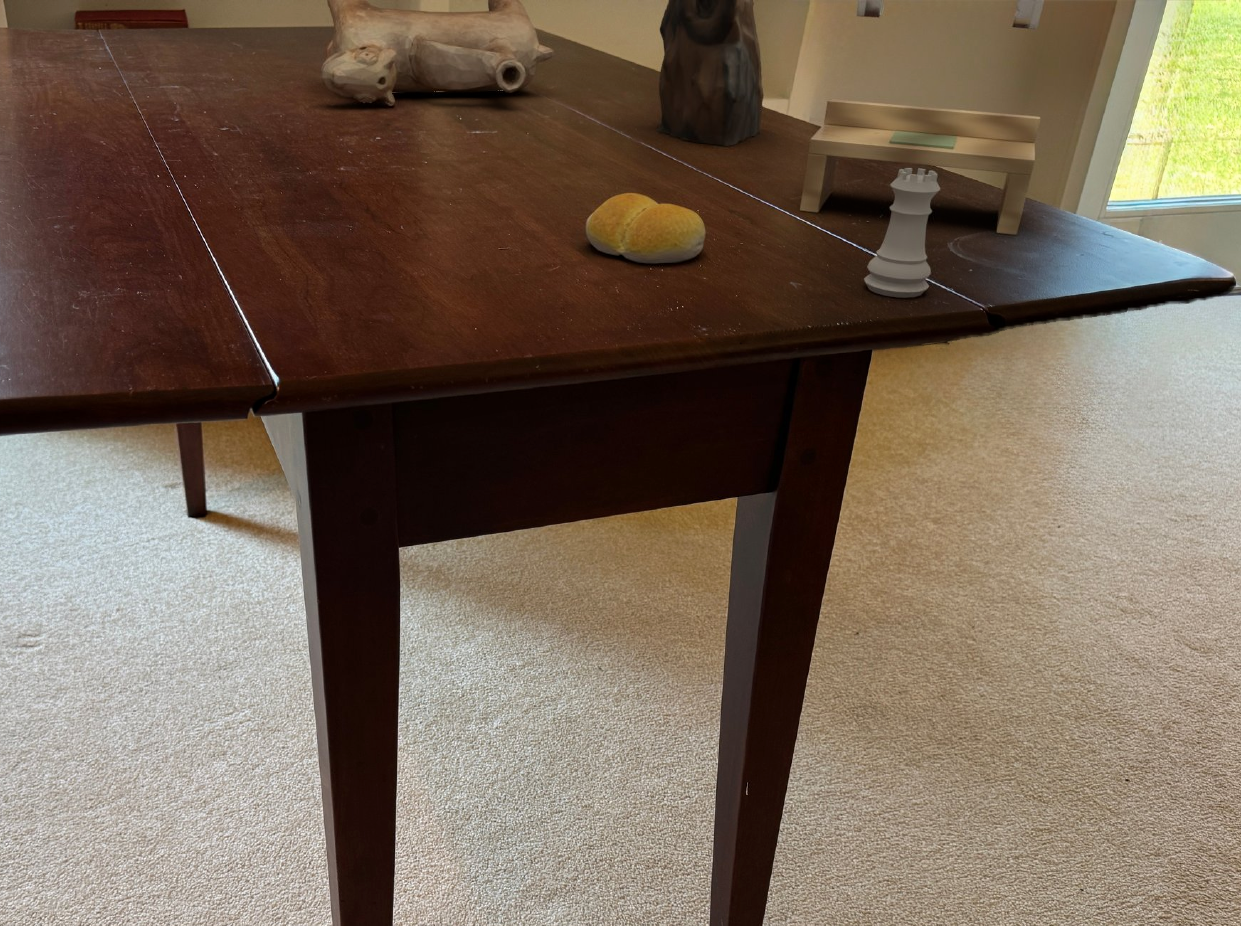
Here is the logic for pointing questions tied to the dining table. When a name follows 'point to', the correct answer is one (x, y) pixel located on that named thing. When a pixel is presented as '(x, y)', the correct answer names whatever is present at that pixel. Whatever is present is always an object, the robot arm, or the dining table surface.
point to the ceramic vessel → (429, 50)
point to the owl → (710, 71)
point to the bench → (924, 147)
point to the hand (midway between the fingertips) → (945, 22)
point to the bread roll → (645, 230)
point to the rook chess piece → (905, 238)
